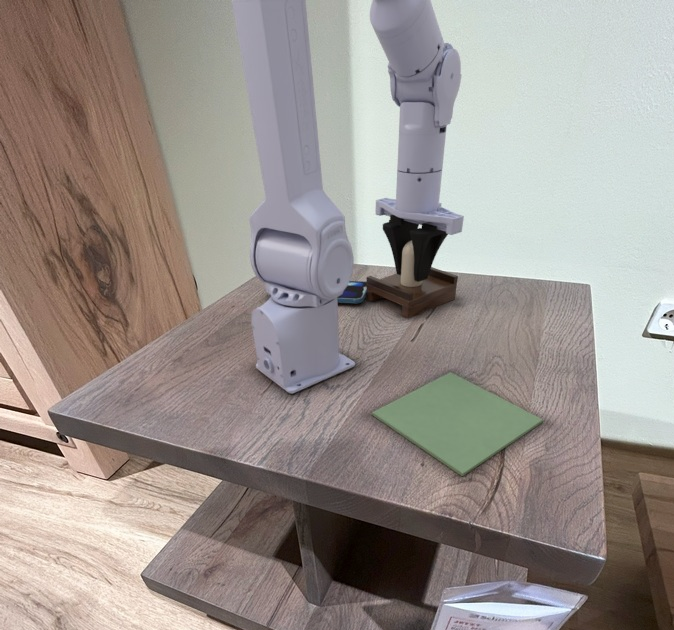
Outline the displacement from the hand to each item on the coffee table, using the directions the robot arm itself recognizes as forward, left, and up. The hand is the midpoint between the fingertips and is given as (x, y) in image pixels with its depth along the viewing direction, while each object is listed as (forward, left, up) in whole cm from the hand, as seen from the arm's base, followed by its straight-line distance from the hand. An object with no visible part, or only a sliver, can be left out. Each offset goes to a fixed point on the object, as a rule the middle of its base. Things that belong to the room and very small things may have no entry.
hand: (412, 276), depth 67 cm
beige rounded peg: (0, 0, -1) cm, 1 cm away
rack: (0, 0, -3) cm, 3 cm away
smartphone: (-9, +11, -3) cm, 15 cm away
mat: (-18, -24, -3) cm, 31 cm away
